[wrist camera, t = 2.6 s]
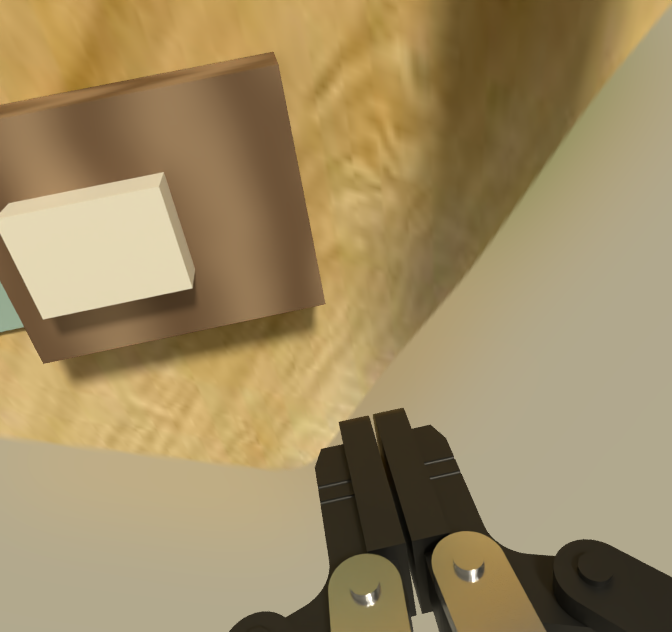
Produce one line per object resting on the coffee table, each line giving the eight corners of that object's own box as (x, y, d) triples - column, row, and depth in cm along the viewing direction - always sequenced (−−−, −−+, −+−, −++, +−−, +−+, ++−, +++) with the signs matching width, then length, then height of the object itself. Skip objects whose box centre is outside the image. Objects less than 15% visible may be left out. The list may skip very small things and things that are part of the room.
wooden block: (273, 51, 29) (278, 64, 25) (316, 270, 35) (325, 304, 32) (-40, 112, 28) (-77, 133, 25) (62, 323, 34) (43, 363, 31)
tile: (163, 172, 27) (158, 186, 25) (195, 269, 29) (192, 288, 28) (8, 203, 27) (-7, 220, 25) (54, 298, 29) (43, 319, 28)
